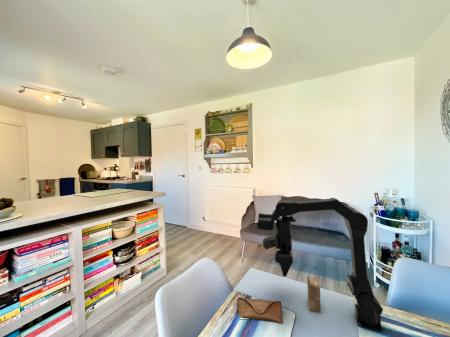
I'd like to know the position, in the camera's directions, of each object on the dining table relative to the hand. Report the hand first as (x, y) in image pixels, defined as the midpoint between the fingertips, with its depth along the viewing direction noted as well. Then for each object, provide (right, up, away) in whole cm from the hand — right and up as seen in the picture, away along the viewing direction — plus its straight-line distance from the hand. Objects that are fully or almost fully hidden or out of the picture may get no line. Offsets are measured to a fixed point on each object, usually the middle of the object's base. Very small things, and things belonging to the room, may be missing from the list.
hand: (284, 270), depth 77 cm
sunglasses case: (-11, -16, -3) cm, 19 cm away
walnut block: (+12, -14, -1) cm, 18 cm away
